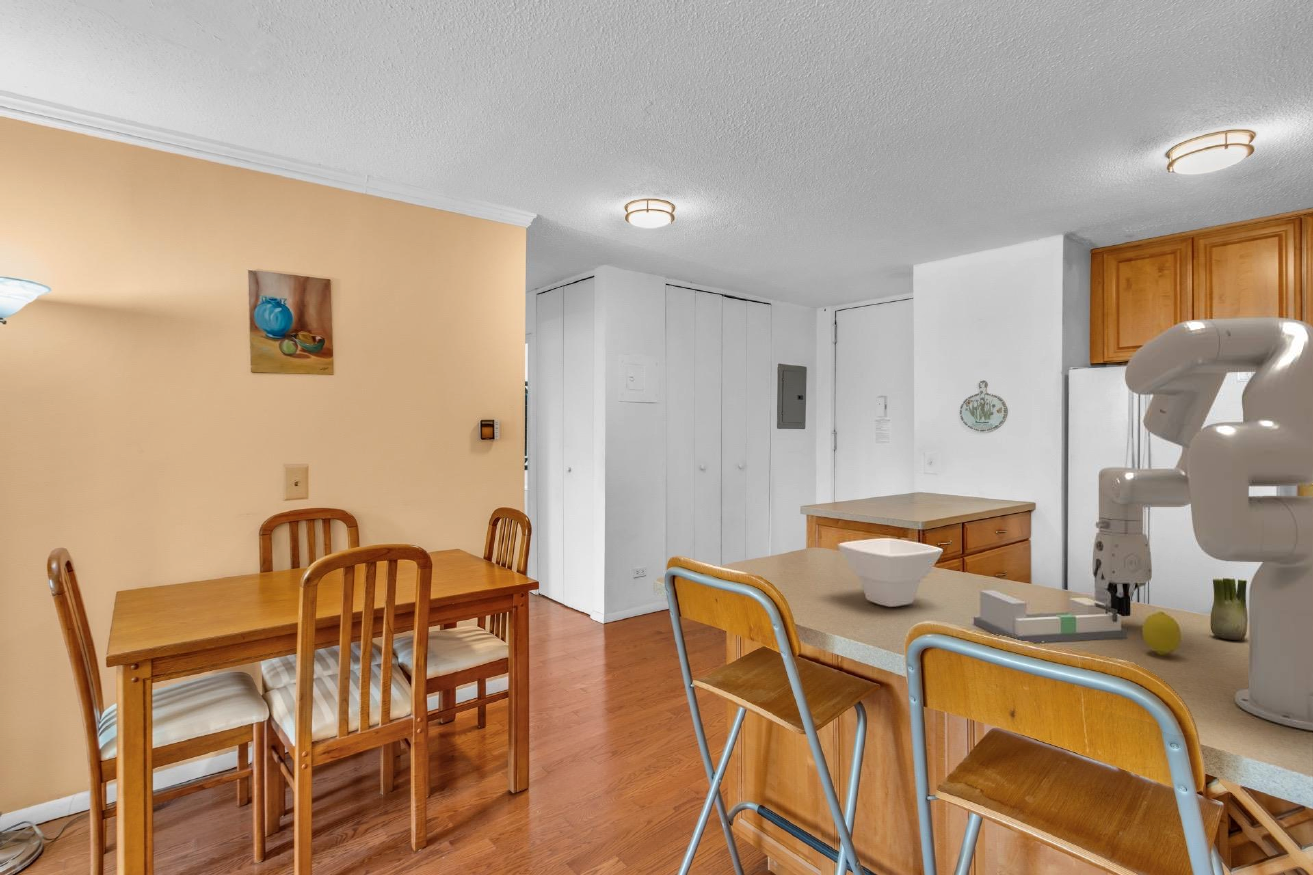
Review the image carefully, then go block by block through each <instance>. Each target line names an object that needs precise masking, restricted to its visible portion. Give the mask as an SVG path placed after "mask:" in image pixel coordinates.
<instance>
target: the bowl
mask: <svg viewBox="0 0 1313 875" xmlns="http://www.w3.org/2000/svg"><path fill="white" fill-rule="evenodd" d="M837 547H838V549H839V550H840V552H841V553H842V555H843V557H844V558H845V561H846V562H847V564H848V565H849V567H850V568H851V571H852V572H853V574H856V575H858V577H859V580H860V583H861V585H862V586H861V587H862V589H863V592H864V596H865V598H866V600H868V601H870V602H872V603H875V604H876V605H877V604H878V605H880V606H885V607H889V608H890V607H900V606H906V605H910V604H913V603H914V600H915V598H916V595H917V591H918V588H919V585H920V582H921V580H922V579H925V578H927V577H928V575H929V574H930V573H931V570H932V569H933V567H934V566H935V564H936V563H937V561H938V560H939V558H940V557H941V555H942V553H943V552H944V550H943V548H940V547H938V546H934V545H930V544H925V543H922V542H917V541H910V540H905V539H897V538H891V537H890V538H889V537H886V538H884V537H883V538H870V539H869V538H868V539H861V540H852V541H845V542H840V543H837Z"/></svg>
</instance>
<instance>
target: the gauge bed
mask: <svg viewBox="0 0 1313 875" xmlns="http://www.w3.org/2000/svg"><path fill="white" fill-rule="evenodd" d="M979 597H980V598H979V603H980V604H979V605H980V606H979V608H980V609H979V613H980V614H979V616H974V617H973V625H975V626H977V627H979V628H981V629H983V630H985V631H987V632H989V633H991V634H993V635H995V634H998V635H1002V636H1007V637H1010V638H1013V639H1017V640H1021V641H1029V642H1034V643H1033V644H1042V643H1041V642H1042V641H1044V642H1048V643H1055V642H1054V641H1066V642H1078V641H1077V640H1083V641H1096V639H1097V641H1098V639H1101V640H1114V639H1115V640H1116V639H1117V640H1118V639H1127V638H1128V630H1126V629H1124V628H1122V616H1121V615H1119V614H1117V622H1113V621H1112V613H1108V614H1096V615H1076V616H1073V615H1069V611H1068V612H1067V611H1066V612H1053V613H1052V612H1051V613H1050V612H1049V613H1031V614H1029V613H1028V614H1027V602H1026V601H1022V600H1021V599H1018V598H1015V597H1012V596H1009V595H1007V594H1004V593H1002V592H999V591H997V590H994V589H993V590H991V589H990V590H989V589H988V590H980V591H979ZM1091 639H1093V640H1091ZM1094 639H1095V640H1094ZM1072 640H1073V641H1072ZM1074 640H1076V641H1074Z"/></svg>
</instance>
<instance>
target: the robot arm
mask: <svg viewBox="0 0 1313 875" xmlns="http://www.w3.org/2000/svg"><path fill="white" fill-rule="evenodd" d="M1228 373H1254V374H1252V376H1251V377H1250V379H1249V380H1248V382H1247V383H1246V385H1245V386H1244V388H1243V392H1242V394H1241V406H1242V421H1227V422H1225V421H1224V422H1218V423H1213V424H1212V423H1211V424H1209V425H1206V426H1204V425H1205V424H1204V423H1205V422H1206V420H1207V417H1208V415H1209V413H1210V411H1211V409H1212V407H1213V404H1214V402H1215V400H1216V399H1217V396H1218V395H1219V392H1220V389H1221V388H1222V385H1223V384H1224V381H1225V379H1226V377H1227V374H1228ZM1124 380H1125V384H1126V386H1127V388H1128V390H1130V391H1131V392H1132V393H1134V394H1136V395H1142V396H1143V395H1145V396H1148V395H1150V396H1151V395H1152V396H1151V400H1150V403H1149V404H1148V408H1147V410H1146V412H1145V415H1144V416H1143V421H1142V423H1143V426H1144V428H1145V429H1146V430H1147V431H1148V432H1149V433H1151V434H1152V435H1154V436H1156V437H1157V438H1159V439H1161V440H1164V441H1167V442H1169V443H1173V444H1174V445H1177V446H1180V447H1181V448H1182V450H1181V454H1180V457H1179V459H1178V462H1177V463H1176V464H1175V465H1176V466H1175V467H1174V468H1134V467H1117V466H1115V467H1114V466H1113V467H1111V466H1110V467H1104V468H1102V469H1100V471H1099V473H1098V521H1096V522H1095V528H1097V529H1098V532H1096V535H1095V538H1094V543H1093V552H1092V564H1091V566H1092V574H1093V577H1094V579H1095V578H1096V581H1095V580H1094V586H1095V585H1096V586H1099V587H1102V588H1105V589H1106V590H1107V591H1108V593H1109V594H1111V608H1113V609H1116V610H1117V614H1119V615H1121V617H1131V597H1134V595H1135V591H1136V590H1137V589H1138V588H1140V587H1144V586H1146V584H1147V583H1148V582H1150V581H1151V579H1152V575H1153V568H1152V567H1153V566H1152V554H1151V548H1150V547H1151V546H1150V543H1149V540H1148V539H1149V538H1148V536H1147V534H1146V533H1144V508H1182V507H1186V506H1188V505H1190V509H1191V510H1190V511H1191V513H1190V514H1191V522H1192V528H1193V529H1192V530H1193V532H1194V533H1193V534H1194V538H1195V540H1196V542H1197V544H1198V546H1199V547H1200V548H1201V550H1202V551H1203V552H1204V553H1205V554H1207V555H1208V556H1210V557H1211V558H1213V559H1215V560H1219V561H1225V562H1236V563H1237V562H1239V563H1261V564H1260V565H1259V567H1258V568H1257V569H1256V572H1255V573H1254V575H1253V576H1252V580H1251V582H1250V585H1249V591H1248V688H1243V689H1241V690H1238V691H1236V692H1235V694H1234V702H1235V703H1236V705H1237V706H1239V707H1240V708H1241V709H1242V710H1244V711H1246V712H1248V713H1250V714H1251V715H1254V716H1257V717H1259V718H1262V719H1264V720H1267V721H1270V722H1273V723H1277V724H1280V725H1283V726H1288V727H1291V728H1297V729H1302V730H1306V731H1313V497H1312V496H1303V495H1301V496H1300V495H1250V493H1249V492H1250V487H1299V486H1306V485H1311V484H1313V326H1312V325H1310V324H1309V323H1307V322H1305V321H1302V320H1298V319H1293V318H1287V317H1236V318H1211V319H1210V318H1209V319H1208V318H1207V319H1206V318H1205V319H1204V318H1203V319H1192V320H1186V321H1183V322H1182V321H1181V322H1179V323H1176V324H1174V325H1172V326H1171V327H1169V328H1168V329H1167V330H1165V331H1162V332H1161V333H1160V334H1158V335H1157V336H1156V337H1154V338H1153V339H1151V340H1149V341H1148V342H1146V343H1144V344H1143V345H1142V346H1141V347H1139V349H1137V350H1136V351H1135V352H1134V353H1133V355H1132V356H1131V357H1130V358H1129V360H1128V362H1127V365H1126V367H1125V372H1124ZM1203 426H1204V427H1203Z"/></svg>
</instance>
